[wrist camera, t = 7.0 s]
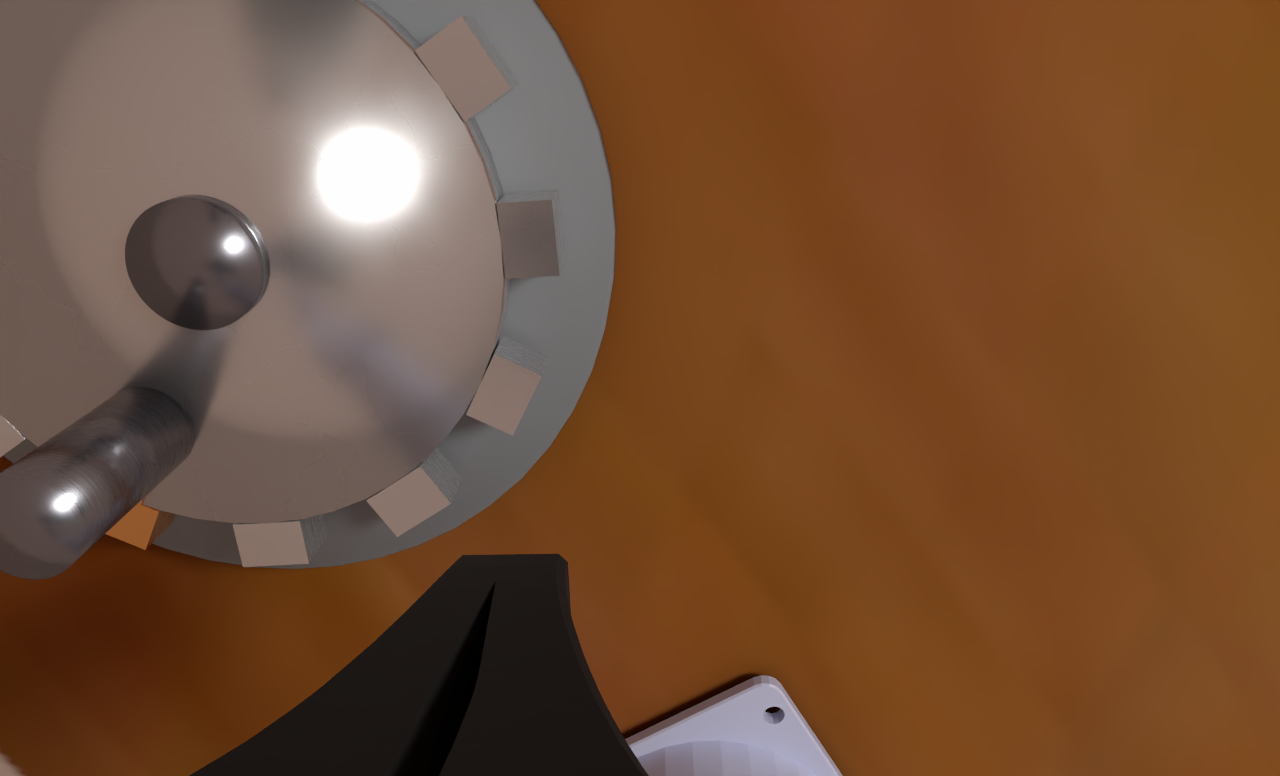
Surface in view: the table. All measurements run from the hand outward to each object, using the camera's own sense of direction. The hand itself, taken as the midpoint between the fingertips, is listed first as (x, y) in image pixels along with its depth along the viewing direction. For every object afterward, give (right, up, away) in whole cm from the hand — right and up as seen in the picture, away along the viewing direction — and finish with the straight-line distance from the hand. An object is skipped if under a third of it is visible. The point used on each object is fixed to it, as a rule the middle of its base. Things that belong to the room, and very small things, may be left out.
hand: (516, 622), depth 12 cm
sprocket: (-6, +6, +7) cm, 11 cm away
